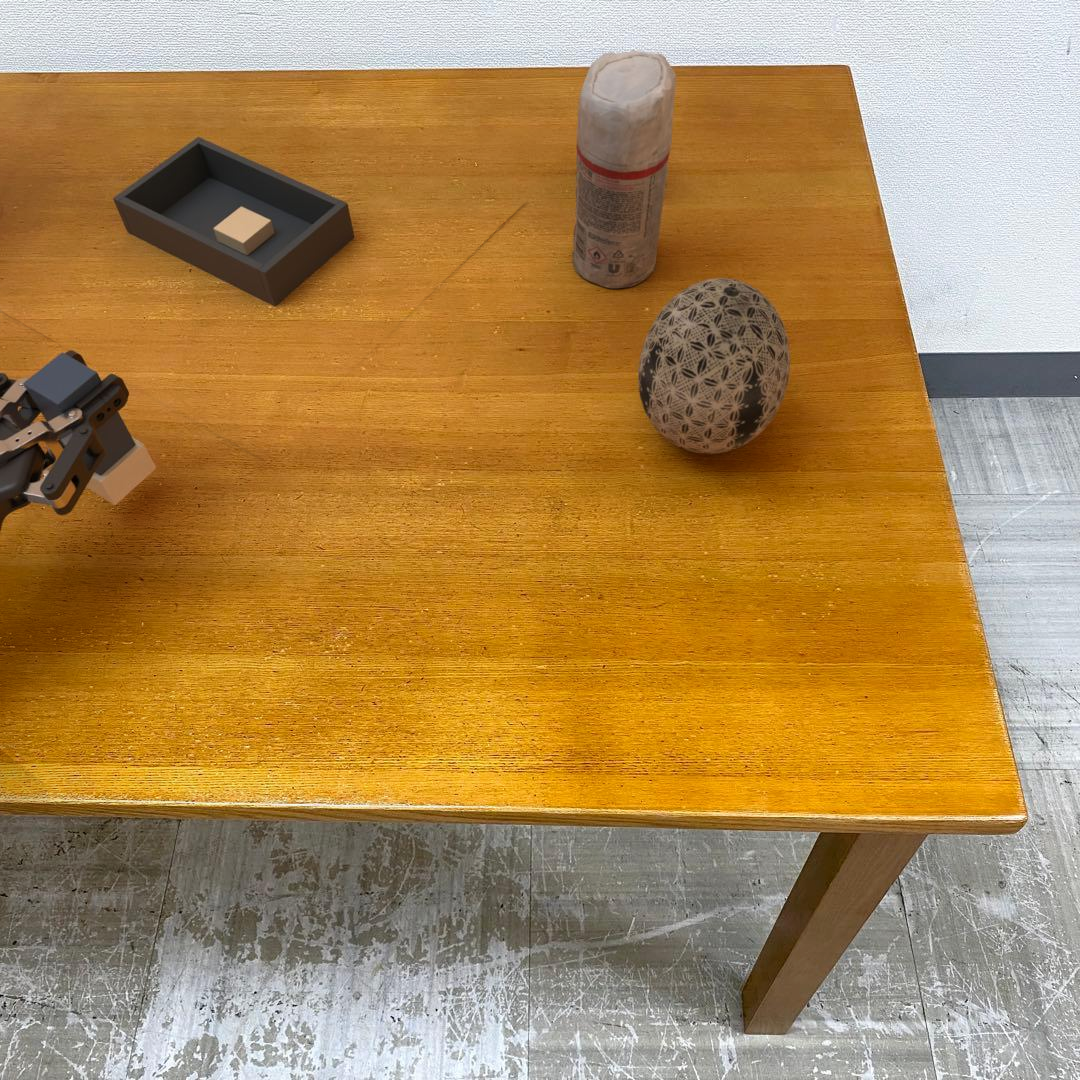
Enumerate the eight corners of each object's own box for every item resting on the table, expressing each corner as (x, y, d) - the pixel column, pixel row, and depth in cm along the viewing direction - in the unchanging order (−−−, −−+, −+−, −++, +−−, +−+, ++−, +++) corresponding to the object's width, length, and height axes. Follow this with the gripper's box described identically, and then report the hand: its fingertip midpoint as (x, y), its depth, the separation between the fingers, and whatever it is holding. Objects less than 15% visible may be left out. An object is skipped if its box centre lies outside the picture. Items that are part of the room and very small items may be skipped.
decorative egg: (611, 400, 88) (619, 264, 75) (732, 364, 90) (760, 225, 78) (669, 502, 82) (688, 371, 69) (797, 459, 84) (839, 326, 71)
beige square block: (217, 241, 100) (212, 228, 98) (245, 219, 101) (241, 205, 100) (247, 256, 98) (243, 242, 97) (275, 233, 100) (271, 219, 99)
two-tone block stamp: (75, 481, 79) (13, 384, 70) (117, 444, 81) (62, 345, 72) (115, 506, 78) (57, 410, 69) (157, 468, 80) (105, 370, 71)
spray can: (677, 269, 97) (701, 72, 81) (609, 305, 95) (619, 109, 78) (622, 223, 101) (635, 26, 84) (555, 256, 98) (555, 59, 82)
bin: (129, 236, 101) (112, 198, 97) (211, 175, 106) (198, 136, 103) (276, 311, 95) (264, 272, 91) (355, 242, 100) (347, 202, 96)
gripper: (-57, 555, 60) (154, 374, 68) (-202, 453, 65) (13, 295, 72) (0, 618, 66) (188, 446, 74) (-135, 521, 71) (55, 368, 79)
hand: (100, 372), depth 73 cm, fingers closed on two-tone block stamp, 3 cm apart
